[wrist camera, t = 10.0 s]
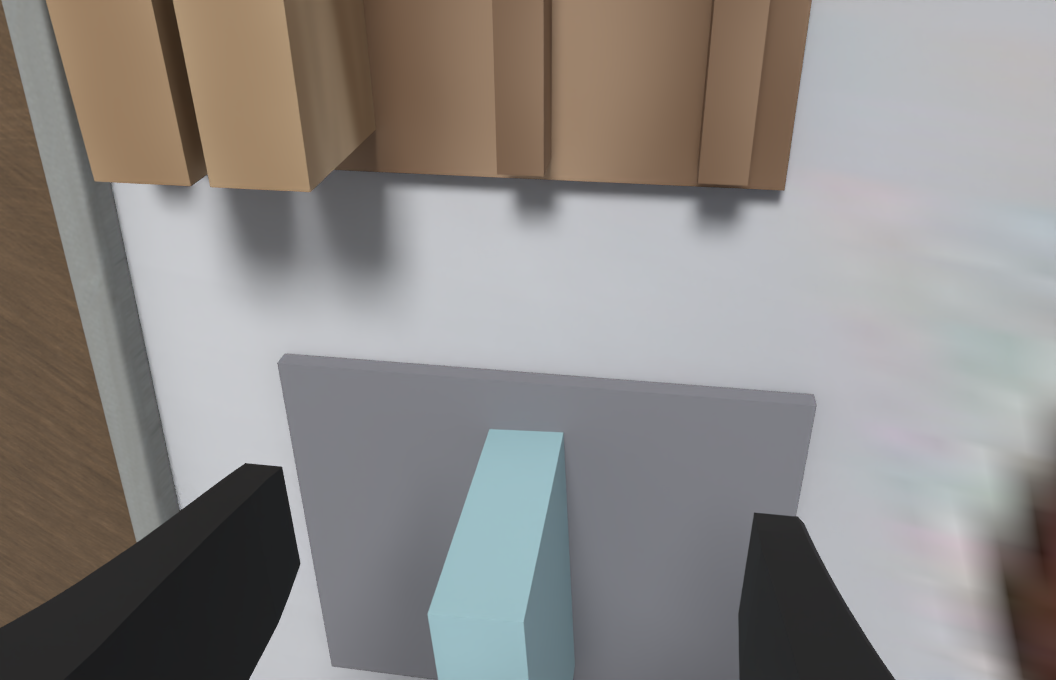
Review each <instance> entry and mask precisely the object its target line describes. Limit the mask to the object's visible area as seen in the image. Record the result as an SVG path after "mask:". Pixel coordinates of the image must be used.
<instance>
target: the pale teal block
mask: <svg viewBox="0 0 1056 680" xmlns="http://www.w3.org/2000/svg"><path fill="white" fill-rule="evenodd" d="M428 620H429V626H430V633H431V639H432V645H433V651H434V657H435V663H436V669H437V675H438V680H573V675H574V668H575V657H574V637H573V617H572V596H571V576H570V555H569V535H568V515H567V494H566V474H565V453H564V433H563V432H542V431H520V430H498V429H489V432H488V435H487V438H486V441H485V444H484V447H483V450H482V453H481V456H480V459H479V462H478V465H477V468H476V471H475V474H474V477H473V480H472V483H471V486H470V489H469V492H468V495H467V498H466V501H465V504H464V507H463V510H462V513H461V516H460V519H459V522H458V525H457V528H456V531H455V534H454V537H453V540H452V542H451V545H450V548H449V551H448V554H447V557H446V560H445V563H444V566H443V569H442V572H441V575H440V578H439V581H438V584H437V587H436V590H435V593H434V596H433V599H432V602H431V605H430V608H429V611H428Z"/></svg>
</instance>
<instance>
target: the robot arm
mask: <svg viewBox="0 0 1056 680" xmlns="http://www.w3.org/2000/svg"><path fill="white" fill-rule="evenodd" d="M299 566H300V559H299V554H298V549H297V543H296V538H295V533H294V527H293V522H292V517H291V512H290V506H289V501H288V496H287V491H286V485H285V480H284V475H283V470H282V467H279V466H268V465H258V464H248V463H245V464H244V465H242V466H241V467H239V468H238V469H236V470H235V471H234V472H232V473H231V474H229V475H228V476H227V477H225V478H224V479H222V480H221V481H220V482H218V483H217V484H216V485H214V486H213V487H212V488H210V489H209V490H208V491H206V492H205V493H204V494H202V495H201V496H200V497H198V498H197V499H196V500H194V501H193V502H192V503H190V504H189V505H188V506H186V507H185V508H184V509H182V510H181V511H179V512H178V513H177V514H175V515H174V516H173V517H171V518H170V519H169V520H167V521H166V522H164V523H163V524H162V525H160V526H159V527H158V528H156V529H155V530H153V531H152V532H151V533H149V534H148V535H147V536H145V537H144V538H142V539H141V540H140V541H138V542H137V543H135V544H134V545H133V546H131V547H130V548H128V549H127V550H125V551H124V552H122V553H121V554H119V555H118V556H116V557H115V558H113V559H112V560H110V561H109V562H107V563H106V564H104V565H103V566H101V567H100V568H98V569H97V570H95V571H94V572H92V573H91V574H89V575H88V576H86V577H85V578H83V579H82V580H80V581H79V582H77V583H76V584H74V585H73V586H71V587H70V588H68V589H66V590H65V591H63V592H62V593H60V594H58V595H57V596H55V597H53V598H52V599H50V600H48V601H47V602H45V603H43V604H42V605H40V606H38V607H36V608H35V609H33V610H31V611H29V612H28V613H26V614H24V615H22V616H21V617H19V618H17V619H15V620H14V621H12V622H10V623H8V624H6V625H5V626H3V627H1V628H0V680H249V678H250V676H251V674H252V673H253V671H254V669H255V667H256V665H257V663H258V661H259V659H260V657H261V656H262V654H263V652H264V650H265V648H266V646H267V644H268V642H269V640H270V638H271V636H272V634H273V633H274V631H275V629H276V627H277V625H278V623H279V620H280V618H281V615H282V612H283V610H284V607H285V605H286V602H287V600H288V597H289V594H290V592H291V589H292V586H293V583H294V580H295V578H296V575H297V572H298V569H299ZM738 626H739V680H895V679H894V677H893V676H892V674H891V673H890V671H889V670H888V669H887V667H886V666H885V664H884V663H883V661H882V660H881V658H880V657H879V655H878V654H877V652H876V651H875V649H874V648H873V646H872V645H871V643H870V642H869V640H868V639H867V637H866V635H865V634H864V632H863V631H862V629H861V627H860V626H859V624H858V622H857V621H856V619H855V618H854V616H853V614H852V613H851V611H850V610H849V608H848V606H847V605H846V603H845V601H844V600H843V598H842V596H841V594H840V593H839V591H838V589H837V587H836V586H835V584H834V582H833V580H832V578H831V577H830V575H829V573H828V571H827V569H826V567H825V565H824V564H823V562H822V560H821V558H820V556H819V554H818V552H817V550H816V548H815V546H814V544H813V542H812V540H811V538H810V536H809V533H808V531H807V529H806V527H805V525H804V523H803V522H802V521H801V520H800V519H799V518H798V517H796V516H786V515H776V514H765V513H755V512H754V516H753V522H752V529H751V535H750V542H749V548H748V554H747V561H746V567H745V574H744V580H743V587H742V593H741V599H740V606H739V612H738Z"/></svg>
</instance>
